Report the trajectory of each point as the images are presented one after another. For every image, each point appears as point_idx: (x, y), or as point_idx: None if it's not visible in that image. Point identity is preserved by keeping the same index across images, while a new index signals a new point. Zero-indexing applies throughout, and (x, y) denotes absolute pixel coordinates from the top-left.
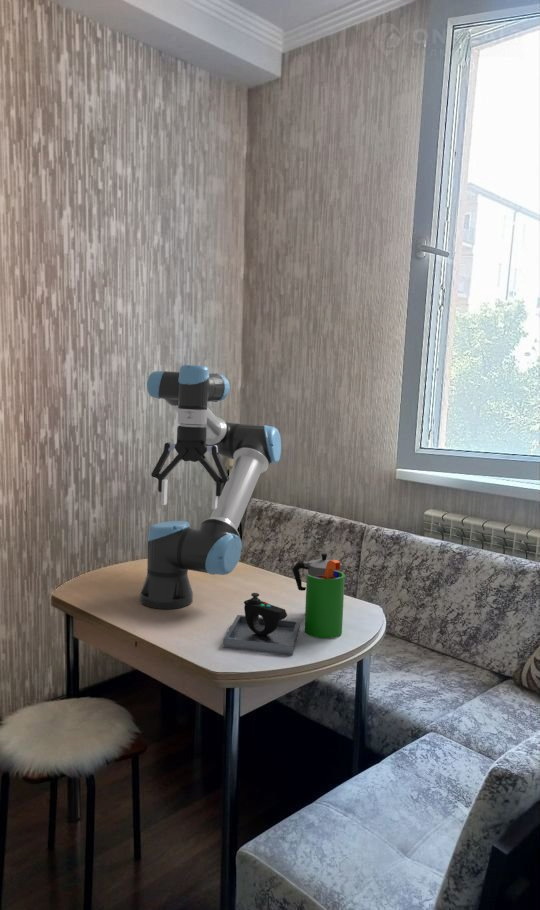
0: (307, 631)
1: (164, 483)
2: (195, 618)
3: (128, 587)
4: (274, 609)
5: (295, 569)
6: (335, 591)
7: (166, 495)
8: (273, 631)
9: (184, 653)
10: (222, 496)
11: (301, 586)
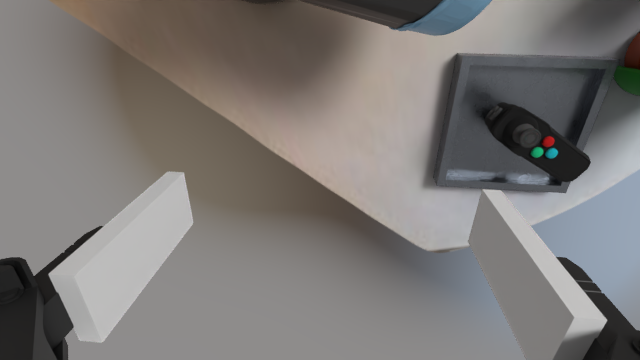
0: (620, 82)
1: (115, 322)
2: (360, 43)
3: None
4: (563, 165)
5: None
6: None
7: (159, 212)
8: (538, 102)
9: (372, 206)
10: None
11: None
